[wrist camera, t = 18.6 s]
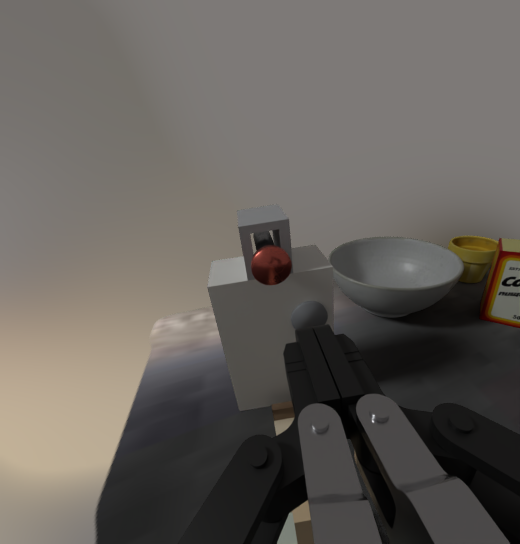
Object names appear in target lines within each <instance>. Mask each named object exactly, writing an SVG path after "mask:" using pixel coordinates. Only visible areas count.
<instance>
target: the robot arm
mask: <svg viewBox="0 0 520 544" xmlns="http://www.w3.org/2000/svg"><path fill="white" fill-rule="evenodd" d="M295 337H296V342H293V343H287V344H286V345H285V349H284V352H283V356H284V362H285V369H286V376H287V381H288V386H289V391H290V396H291V400H292V405H293V410H294V414H295V417H294V420H293V422H292V424H291V425H290V426H289V428H287V429H286V430H285V431H284V432H282V433H280V434H279V435H277V436H275V437H273V438H271V437H269V436H266V435H255V436H252V437H250V438H248V439H247V440H245V441H244V442H243V443H242V445H241V446H240V447H239V449H238V451H237V452H236V454H235V455H234V457H233V458H232V460H231V461H230V463H229V465H228V466H227V468H226V469H225V471H224V472H223V474H222V475H221V477H220V479H219V480H218V482H217V483H216V485H215V486H214V488H213V489H212V491H211V493H210V494H209V496H208V497H207V499H206V500H205V502H204V503H203V505H202V507H201V508H200V510H199V511H198V513H197V514H196V516H195V517H194V519H193V521H192V522H191V524H190V525H189V527H188V528H187V530H186V531H185V533H184V535H183V536H182V538H181V539H180V541H179V542H178V544H277V541H278V539H279V537H280V534H281V532H282V530H283V527H284V525H285V522H286V520H287V518H288V515H289V513H290V512H291V511H293V510H294V509H296V508H297V507H299V506H300V505H301V504H303V503H304V502H306V501H307V500H308V504H309V511H310V518H311V525H312V533H313V540H314V544H382V542H381V538H380V535H379V532H378V529H377V525H376V522H375V519H374V516H373V512H372V510H371V507H370V504H369V502H368V500H367V498H366V496H364V494H363V492H362V490H361V487H360V483H359V480H358V476H357V473H356V470H355V466H354V463H353V459H352V456H351V452H350V449H349V446H348V442H347V439H351V442H352V444H353V447H354V450H355V462H356V464H357V467H358V469H359V471H360V473H361V476H362V478H363V480H364V482H365V485H366V487H367V489H368V491H369V494H370V496H371V498H372V501H373V503H374V505H375V507H376V510H377V512H378V514H379V516H380V519H381V521H382V523H383V525H384V528H385V530H386V533H387V536H388V540H389V544H520V435H519V434H517V433H515V432H513V431H511V430H509V429H507V428H506V427H504V426H502V425H500V424H498V423H496V422H494V421H492V420H490V419H488V418H486V417H484V416H482V415H480V414H478V413H476V412H474V411H472V410H470V409H468V408H466V407H463V406H461V405H458V404H453V403H443V404H440V405H438V406H436V407H435V409H434V410H433V412H425V411H418V410H411V409H406V408H403V407H401V406H398V405H397V404H396V403H395V402H394V401H392V400H391V399H389V398H388V397H386V396H385V395H384V394H383V392H382V391H381V389H380V387H379V385H378V384H377V382H376V380H375V378H374V377H373V375H372V373H371V372H370V370H369V368H368V366H367V365H366V363H365V361H363V358H362V356H361V354H360V353H359V351H358V349H357V347H356V346H355V344H354V342H353V341H352V340H351V339H349V338H348V337H347V336H346V335H344V334H339V335H334V333H333V331H332V329H331V327H330V325H329V324H326V325H320V326H314V327H309V328H303V329H297V330H295Z"/></svg>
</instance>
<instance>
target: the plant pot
mask: <svg viewBox="0 0 520 544" xmlns="http://www.w3.org/2000/svg"><path fill="white" fill-rule="evenodd" d="M497 245H498V241H496V240H493V239H490V238H485V237H479V236H459V237H455V238H452V239H451V240H450V242H449V247H448V249H449V250H451V251H452V252H454V253H455V254H456V255H458V256H459V257H460V258H461V260H462V262H463V264H464V271H463V274H462V276H461V277H460V279H459V281H460V282H465V283H477V282H480V281H481V280H482V279H483V277H484V275H485V274H486V272H487V271H488V269H489V268H490V266H491V264H492V262H493V259H494V255H495V252H496V249H497Z"/></svg>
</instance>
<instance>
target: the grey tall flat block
mask: <svg viewBox="0 0 520 544" xmlns="http://www.w3.org/2000/svg"><path fill="white" fill-rule="evenodd" d="M237 214H238V228H239V233H240V239H241V244H242V251H243V256H242V257H236V258H229V259H223V260H217V261H212V264H211V269H210V275H209V281H208V287H207V288H208V292H209V295H210V299H211V303H212V307H213V311H214V315H215V319H216V323H217V327H218V330H219V334H220V338H221V342H222V346H223V350H224V354H225V357H226V361H227V365H228V369H229V373H230V377H231V381H232V385H233V388H234V392H235V396H236V400H237V404H238V408H239V411H244V410H250V409H256V408H262V407H267V406H272V404H277V403H282V402H288V401H292V400H291V396H290V391H289V386H288V381H287V376H286V369H285V362H284V356H283V352H284V349H285V345H286V344H287V343H293V342H296V337H295V330H297V329H303V328H309V327H314V326H320V325H326V324H329V325H330V327H331V329H332V331H333V333H334V314H333V266H332V265H331V263H330V262H329V261H328V260H327V259H326V257H325V256H324V255H323V254H322V252H321V251H320V250H319V249H318V247H317V246H316V245H311V246H304V247H298V248H292V249H291V239H290V227H289V219H288V217H287V216H286V214H285V213H284V212H283V210H282V209H281V208H280V206H279V205H278V204H276V205H270V206H263V207H257V208H250V209H244V210H238V211H237ZM270 230H272V231H273V239H274V245H275V246H279V247H281V248H283V249H284V250H285V251H286V252H287V254H288V255H289V257H290V259H291V263H292V269H291V272H290V274H289V276H288V277H287V278H286V279H285V280H284V281H283V282H281V283H279V284H276V285H264V284H262V283H260V282H258V281H257V280H256V279H255V278H254V276H253V274H252V270H251V260H252V257H253V249H252V243H251V236H250V234H251V233H257V232H263V231H270Z"/></svg>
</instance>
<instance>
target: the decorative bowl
mask: <svg viewBox="0 0 520 544" xmlns="http://www.w3.org/2000/svg"><path fill="white" fill-rule="evenodd" d="M328 261H329V262H330V263H331V265H332V266H333V278H334V280H335V281H336V283H337V285H338V286H339V288H340V289H341V290H342V292H343V293H344V294H345V295H346V296H347V297H348V298H349V299H351V300H352V301H353V302H355V303H356V304H358V305H359V306H361V307H362V308H363V309H364V310H366V311H367V312H369V313H371V314H374V315H377V316H381V317H388V318H396V317H402V316H406V315H408V314H410V313H413V312H417V311H420V310H423V309H425V308H427V307H429V306H431V305H433V304H435V303H436V302H438V301H439V300H440V299H442V298H443V297H444V296H445V295H446V294H447V293H449V292H450V290H451V289H452V288H453V287H454V286H455V285H456V283H457V282H458V281H459V279H460V277H461V276H462V274H463V271H464V264H463V262H462V260H461V258H460V257H459V256H458V255H456V254H455V253H454V252H452V251H451V250H449V249H447V248H445V247H442V246H440V245H437V244H434V243H431V242H427V241H422V240H418V239H411V238H403V237H373V238H364V239H359V240H355V241H351V242H348V243H345V244H342V245H340V246H339V247H337V248H335V249H334V250H333V251H332V252H331V254H330V255H329V258H328Z"/></svg>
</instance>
